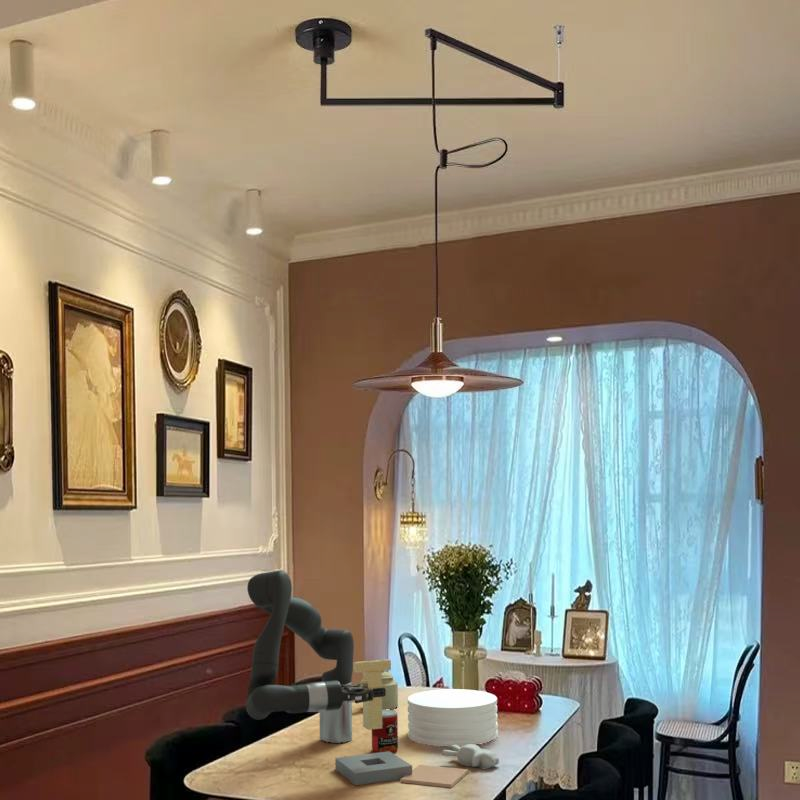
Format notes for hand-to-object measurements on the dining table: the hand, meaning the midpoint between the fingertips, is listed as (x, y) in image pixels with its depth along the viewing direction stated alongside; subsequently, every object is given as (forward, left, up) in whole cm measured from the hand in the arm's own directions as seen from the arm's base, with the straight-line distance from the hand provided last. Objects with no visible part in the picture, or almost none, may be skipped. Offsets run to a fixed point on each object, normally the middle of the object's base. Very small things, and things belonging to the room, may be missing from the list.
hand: (381, 690), depth 252 cm
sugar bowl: (-32, +72, -22) cm, 82 cm away
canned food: (-8, +20, -22) cm, 31 cm away
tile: (+15, 0, -22) cm, 26 cm away
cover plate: (-2, -2, -22) cm, 22 cm away
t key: (-2, -2, -10) cm, 10 cm away
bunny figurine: (+20, +15, -22) cm, 33 cm away
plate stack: (+5, +44, -22) cm, 49 cm away
